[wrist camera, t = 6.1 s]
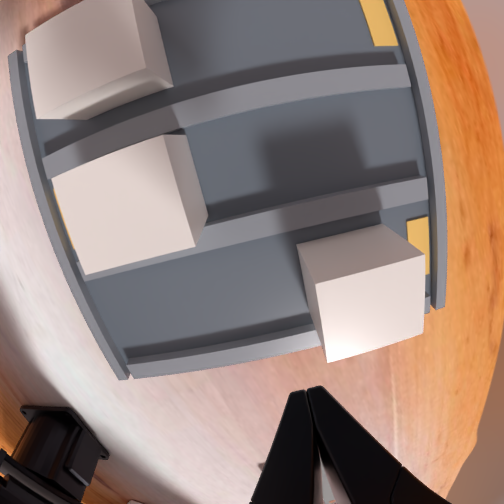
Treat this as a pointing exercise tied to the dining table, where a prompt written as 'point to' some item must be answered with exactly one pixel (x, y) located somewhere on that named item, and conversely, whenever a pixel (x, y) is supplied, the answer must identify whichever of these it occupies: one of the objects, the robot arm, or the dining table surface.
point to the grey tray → (254, 173)
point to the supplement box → (133, 502)
